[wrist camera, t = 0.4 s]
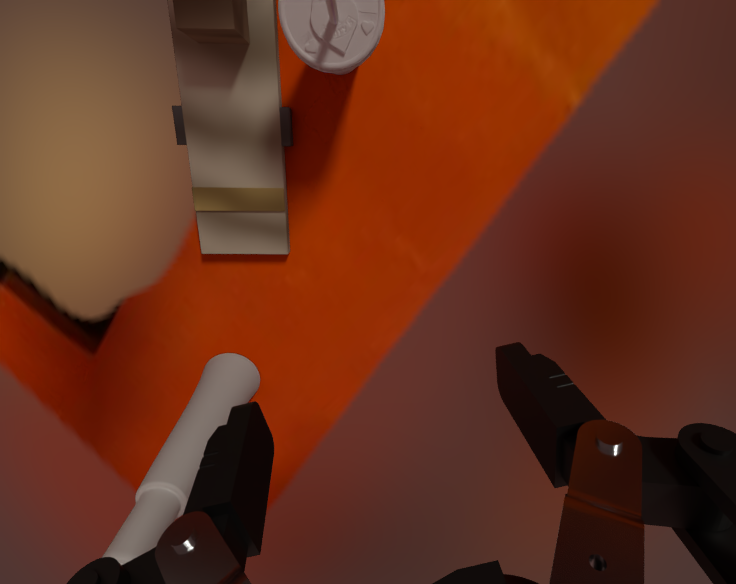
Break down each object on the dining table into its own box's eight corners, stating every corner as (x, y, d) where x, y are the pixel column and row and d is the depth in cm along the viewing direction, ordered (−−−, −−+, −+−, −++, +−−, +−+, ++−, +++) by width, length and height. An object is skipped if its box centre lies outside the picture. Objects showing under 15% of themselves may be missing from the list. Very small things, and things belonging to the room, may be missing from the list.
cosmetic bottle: (213, 344, 41) (62, 540, 20) (268, 364, 42) (178, 571, 21) (197, 389, 43) (44, 612, 22) (250, 407, 44) (151, 638, 23)
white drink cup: (315, 103, 34) (287, 71, 20) (288, 18, 31) (237, -78, 18) (387, 78, 33) (406, 30, 20) (365, -10, 31) (369, -129, 18)
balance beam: (159, -29, 30) (120, -64, 25) (284, -26, 30) (269, -60, 26) (198, 250, 38) (173, 265, 33) (298, 251, 38) (289, 266, 33)
